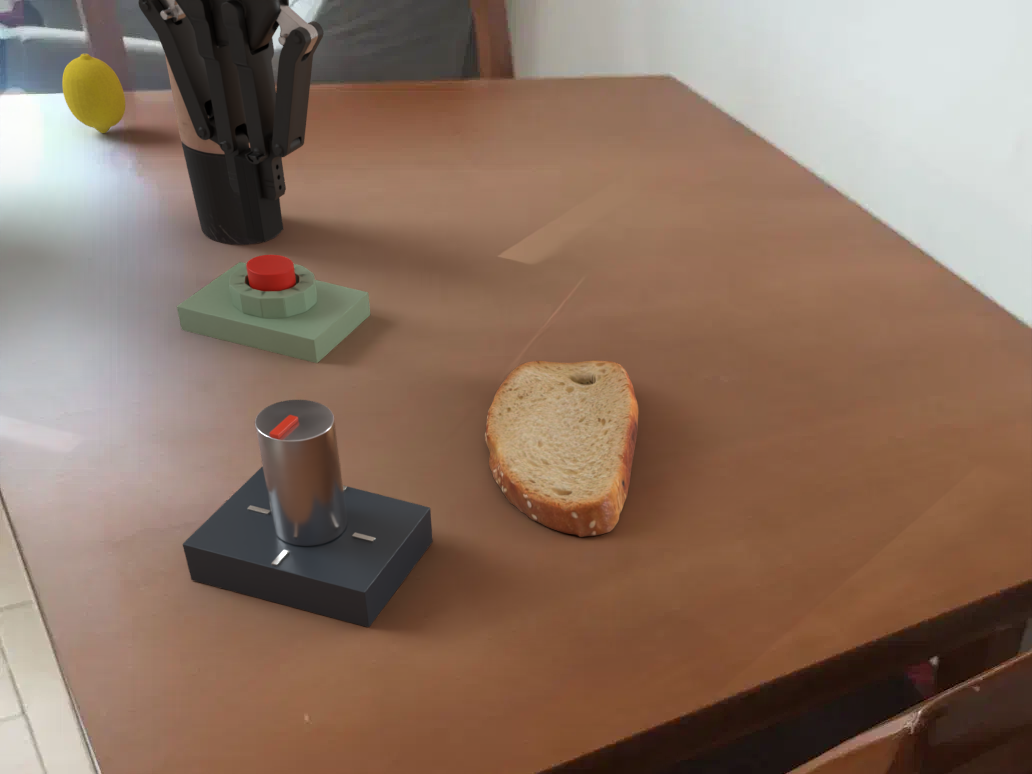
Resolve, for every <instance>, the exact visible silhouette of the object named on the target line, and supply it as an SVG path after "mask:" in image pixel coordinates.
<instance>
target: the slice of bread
mask: <svg viewBox="0 0 1032 774" xmlns="http://www.w3.org/2000/svg"><path fill="white" fill-rule="evenodd" d="M485 427H486V428H485V433H484V440H485V441H484V442H485V444H486V446H487V449H488V451H489V459H488V461H489V462H488V465H489V469H490V471H491V473H492V474H491V475H492V476H493V480H494V481H495V482H496V484H497V485H498V486H499V489H500V490H501V491H502V492H501V493H502V494H503V495H504V496H505V497H506V499H507V500H508V501H509V503H510V504H511V505H513V506H514V507H516V509H518V511H519V512H520V513H523V514H525V515H526V516H527V517H528V518H529V519H531V521H534V522H537V523H539V524H540V525H543V526H545V528H548V529H551V530H554V531H558V532H560V533H564V534H568V535H574V536H578V537H579V538H583V537H593V536H595V537H596V536H600V535H605V534H608V533H610V532H611V531H613V530H614V528H615V527H616V526H617V524H618V522H619V521H620V514H621V513H622V511H623V508H624V505H625V503H626V500H627V498H628V492H629V488H630V484H631V477H632V476H631V472H632V466H633V460H634V455H635V448H636V445H637V444H636V443H637V437H638V436H637V435H638V427H639V404H638V401H637V398H636V393H635V389H634V385H633V382H632V380H631V379H630V376H629V374H628V372H627V370H626V369H625V367H624V366H622V365H621V364H620V363H618V362H614V361H610V360H605V361H604V360H597V359H596V360H595V359H594V360H593V359H592V360H586V361H585V360H584V361H577V362H557V361H545V360H532V361H527V362H524V363H521V364H519V365H518V366H516V367H515V368H514V369H513V370H511V372H510V373H509V374H508V375H507V376H506V377H505V379H504V381H503V382H502V383H501V384H500V386H499V387H498V389H497V390H496V392H495V394H494V397H493V400H492V403H491V405H490V406H489V408H488V411H487V418H486V425H485Z"/></svg>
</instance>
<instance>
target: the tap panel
mask: <svg viewBox="0 0 1032 774" xmlns="http://www.w3.org/2000/svg"><path fill="white" fill-rule="evenodd" d="M343 490H344V498H345V505H346V513H347V526H346V529H345V530H344V532H343V533H342V534H341V535H340V536H338V537H337V538H335V539H334V540H332V541H330V542H327V543H324V544H320V545H314V546H299V545H293V544H290V543H287V542H285V541H283V540H282V539H281V538H279V537H278V535H277V534H276V532H275V530H274V525H273V520H272V514H271V509H270V503H269V498H268V493H267V487H266V482H265V476H264V471H263V465H262V466H261V467H260V468H259V469H257V471H256V472H255V473H254V474H253V475H252V476H250V477H249V479H247V480H246V482H244V483H243V484H242V485H241V486H240V487H239V488H238V489H237V490H236V491H235V493H232V495H231V496H230V497H229V498H228V499H227V500H226V501H225V502H224V503H223V504H222V505H221V506H220V507H218V509H217V510H216V511H215V512H214V513H213V514H212V515H210V517H209V518H207V519H206V521H204V522H203V523H202V524H201V525H200V527H198V528H197V529H196V530H195V531H194V532H193V533H192V534H191V535H190V536H189V537H188V538H187V539H186V540H185V541H184V542H183V543H182V548H183V552H184V556H185V560H186V564H187V567H188V568H187V569H188V571H189V576H190V579H191V581H193V582H198V583H201V584H205V585H208V586H211V587H216V588H220V589H223V590H228V591H231V592H235V593H238V594H242V595H245V596H250V597H253V598H258V599H261V600H264V601H268V602H272V603H276V604H279V605H283V606H287V607H291V608H295V609H299V610H302V611H304V612H305V611H306V612H310V613H313V614H317V615H321V616H324V617H329V618H331V619H336V620H339V621H342V622H347V623H350V624H354V625H358V626H362V627H365V628H370V626H371V625H372V624H373V623H374V621H375V620H376V619H377V617H378V616H379V614H380V613H381V612H382V610H383V609H384V608H385V606H386V605H387V604H388V602H389V601H390V600H391V599H392V597H393V596H394V594H395V593H396V592H397V590H399V588H400V586H401V585H402V584H403V582H404V581H405V580H406V579H407V577H408V576H409V574H410V573H411V572H412V570H413V569H414V568H415V566H416V565H417V563H418V562H419V561H420V559H421V558H422V557H423V556H424V554H425V553H426V551H427V550H428V549H429V547H430V546H431V544H432V543H433V542H434V541H433V540H434V539H433V527H432V515H431V514H432V511H431V507H429V506H425V505H422V504H418V503H414V502H410V501H406V500H402V499H399V498H394V497H390V496H386V495H384V494H380V493H375V492H371V491H367V490H364V489H360V488H356V487H351V486H348V485H345V484H343Z"/></svg>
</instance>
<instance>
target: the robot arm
mask: <svg viewBox="0 0 1032 774" xmlns="http://www.w3.org/2000/svg"><path fill="white" fill-rule="evenodd" d="M138 7H139V9H140V11H141V12H142V14H143V16H144V17H145V18H146V19H147V22H149V24H150V25H151V27H152V28H153V30H154V31H155V33H156V34H157V37H158V39H159V42H160V44H161V47H162V50H163V52H164V56H165V55H166V57H167V60H168V63H169V65H170V68H171V70H172V73H173V75H174V78H175V80H176V83H177V86H178V88H179V91H180V93H181V96H182V98H183V101H184V103H185V106H186V109H187V111H188V114H189V116H190V119H191V121H192V124H193V127H194V129H195V132H196V134H197V135H198V136H199V138H201V139H202V140H208V139H210V140H212V141H213V142H215V143H217V144H218V145H219V146H220V148H221V149H222V151H224V153H225V158H226V164H227V169H228V175H229V181H230V185H231V187H232V189H233V191H234V192H238V193H240V198H241V204H242V210H243V216H244V222H245V227H246V233H247V238H248V239H252V240H256V241H261V243H266V242H268V241H270V240H269V239H270V238H272V237H273V236H275V235H276V234H278V233H279V232H280V231H281V232H283V230H284V223H283V216H282V210H281V209H282V208H281V201H280V202H279V199H280V198H281V197H282V196H284V195H285V194H286V189H287V187H286V181H285V172H284V166H283V159H282V158H285V157H287V156H288V155H290V154H292V153H294V152H295V151H297V150H299V149H301V148H302V147H303V146H304V144H305V140H306V139H305V138H306V128H307V120H308V119H307V117H308V111H309V101H310V100H309V99H310V90H311V78H312V69H313V61H314V54H315V52H316V50H317V49H318V47H319V46H320V45H319V44H320V43H321V41H322V39H323V38H324V29H323V26H321V24H320V23H319V22H317V21H314V20H312V21H309V22H307V21H306V20H304V18H302V17H301V16H300V15H299V14H298V13H296V11H294V10H293V8H291V7H290V0H138ZM192 25H193V26H194V29H193V26H192ZM278 28H279V29H280V31H279V36H278V38H277V40H278V43H279V44H280V45H281V46H282V47H281V50H280V53H279V56H278V57H279V58H278V65H277V78H276V80H277V81H276V83H275V76H274V67H273V62H272V60H273V57H274V56H275V47H274V41H273V39H274V38H273V37H274V35H275V33H276V32H277V30H278ZM166 57H165V58H166ZM208 117H209V118H208ZM249 143H250V148H249ZM280 208H281V209H280ZM281 232H280V233H281Z"/></svg>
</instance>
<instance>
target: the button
mask: <svg viewBox="0 0 1032 774" xmlns="http://www.w3.org/2000/svg"><path fill="white" fill-rule="evenodd" d="M246 263H247V265H246V268H247V274H248V279H249V285H250V287H251V288H252V289H256V290H260V291H282V290H286V289H290V288H292V287H294V286H295V285H296V278H295V271H294V264H295V263H294V262H293V260H291V258H289V257H287V256H285V255H284V256H283V255H279V254H262V255H258V256H254V257H252V258H250V259H249V260H247V262H246Z"/></svg>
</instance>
